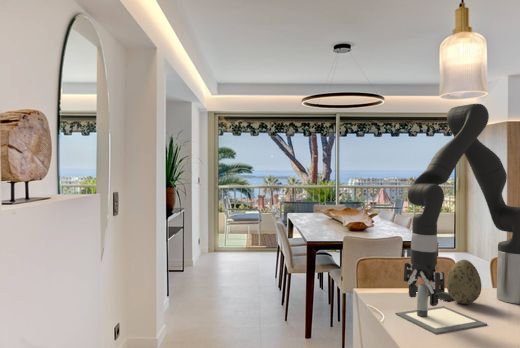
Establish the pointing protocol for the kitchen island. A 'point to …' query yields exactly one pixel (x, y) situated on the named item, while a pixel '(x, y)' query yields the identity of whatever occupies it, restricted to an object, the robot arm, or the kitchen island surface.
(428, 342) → the kitchen island surface
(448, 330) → the writing mat
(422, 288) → the marker
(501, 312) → the kitchen island surface
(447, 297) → the phone
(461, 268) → the decorative egg
